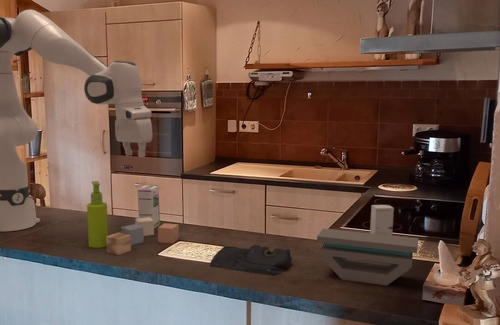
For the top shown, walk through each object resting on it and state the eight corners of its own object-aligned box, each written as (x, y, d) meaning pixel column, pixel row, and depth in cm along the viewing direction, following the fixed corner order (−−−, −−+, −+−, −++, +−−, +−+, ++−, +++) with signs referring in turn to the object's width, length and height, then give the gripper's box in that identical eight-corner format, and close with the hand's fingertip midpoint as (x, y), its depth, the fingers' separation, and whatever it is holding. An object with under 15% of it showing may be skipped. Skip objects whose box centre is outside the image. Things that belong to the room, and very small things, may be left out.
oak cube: (106, 252, 150) (106, 236, 149) (119, 247, 154) (118, 232, 153) (118, 255, 147) (118, 239, 146) (130, 250, 151) (130, 234, 151)
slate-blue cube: (121, 242, 160) (121, 227, 159) (134, 238, 163) (134, 224, 162) (130, 245, 156) (129, 230, 156) (143, 242, 160) (143, 227, 159)
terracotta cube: (158, 242, 160) (157, 227, 159) (164, 238, 164) (164, 223, 164) (172, 243, 158) (172, 228, 158) (178, 239, 163) (178, 224, 162)
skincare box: (374, 245, 158) (375, 208, 156) (369, 241, 162) (370, 204, 160) (392, 244, 158) (394, 207, 157) (387, 240, 163) (388, 204, 161)
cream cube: (135, 232, 170) (135, 218, 169) (150, 231, 172) (149, 217, 171) (139, 236, 166) (138, 222, 165) (153, 234, 168) (153, 220, 167)
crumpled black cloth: (226, 250, 153) (226, 236, 152) (296, 260, 145) (296, 244, 145) (205, 267, 139) (205, 251, 138) (280, 278, 131) (281, 261, 130)
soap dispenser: (106, 240, 161) (104, 179, 158) (109, 246, 155) (107, 183, 152) (87, 242, 159) (85, 180, 156) (89, 248, 153) (86, 184, 150)
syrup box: (154, 229, 174) (153, 188, 172) (138, 228, 175) (137, 187, 173) (160, 224, 179) (159, 185, 177) (144, 223, 181) (143, 184, 178)
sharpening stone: (316, 275, 132) (317, 236, 131) (322, 265, 139) (323, 228, 138) (414, 289, 124) (417, 247, 122) (416, 278, 131) (418, 238, 129)
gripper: (108, 114, 163) (113, 155, 165) (134, 113, 147) (139, 159, 149) (126, 112, 167) (131, 153, 169) (153, 111, 150) (158, 156, 152)
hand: (135, 156), depth 158 cm, fingers open, 8 cm apart
